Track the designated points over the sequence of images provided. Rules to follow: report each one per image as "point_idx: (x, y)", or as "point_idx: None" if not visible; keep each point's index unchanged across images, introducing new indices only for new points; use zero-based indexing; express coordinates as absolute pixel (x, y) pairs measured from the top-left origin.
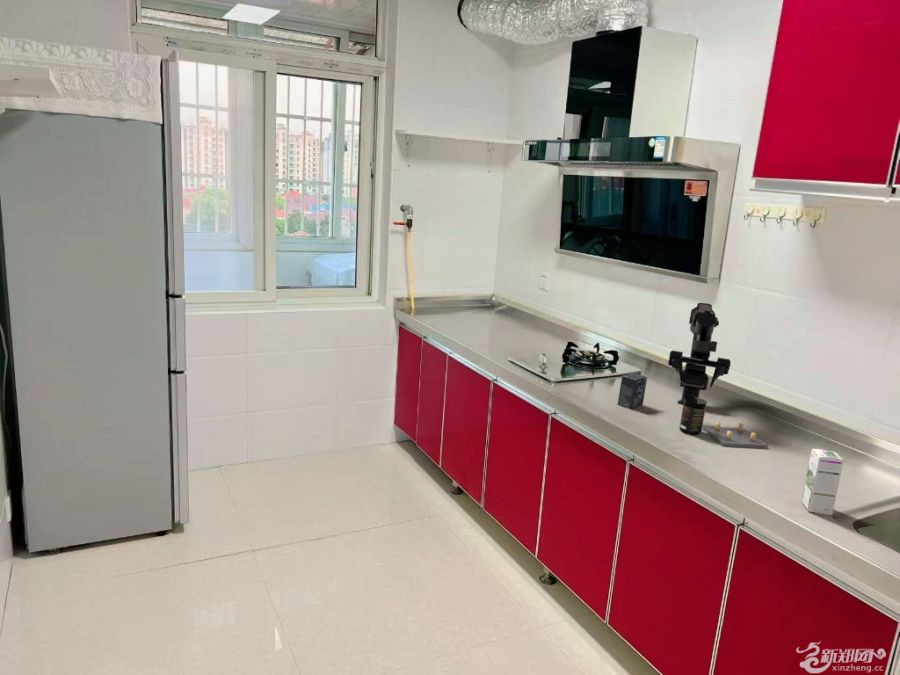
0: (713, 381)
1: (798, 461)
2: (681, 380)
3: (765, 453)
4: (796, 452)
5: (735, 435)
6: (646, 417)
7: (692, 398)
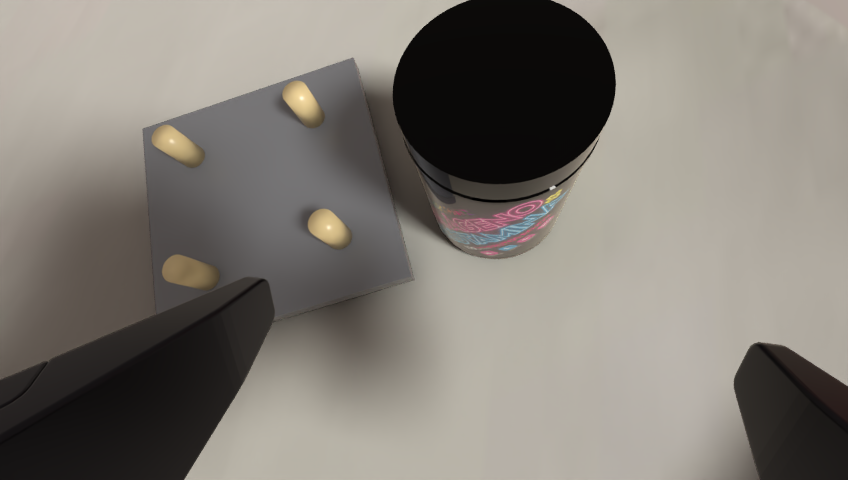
0: (177, 309)
1: (87, 52)
2: (768, 346)
3: (187, 74)
4: (41, 151)
5: (255, 198)
6: None
7: (526, 125)
